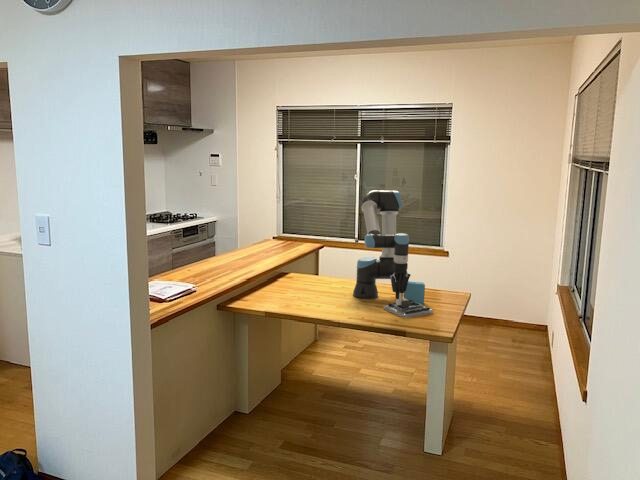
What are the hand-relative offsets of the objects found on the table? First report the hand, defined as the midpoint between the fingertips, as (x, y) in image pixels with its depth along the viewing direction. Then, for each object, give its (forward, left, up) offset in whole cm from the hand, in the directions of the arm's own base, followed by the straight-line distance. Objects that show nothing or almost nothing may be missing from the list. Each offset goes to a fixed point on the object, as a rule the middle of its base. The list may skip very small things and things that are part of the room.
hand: (398, 304), depth 292 cm
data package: (-12, +21, -5) cm, 25 cm away
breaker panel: (0, +7, -5) cm, 8 cm away
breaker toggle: (0, +3, -3) cm, 4 cm away
